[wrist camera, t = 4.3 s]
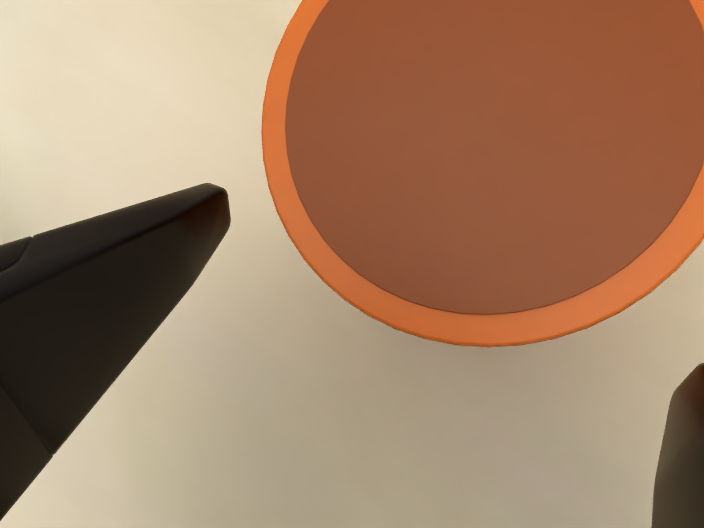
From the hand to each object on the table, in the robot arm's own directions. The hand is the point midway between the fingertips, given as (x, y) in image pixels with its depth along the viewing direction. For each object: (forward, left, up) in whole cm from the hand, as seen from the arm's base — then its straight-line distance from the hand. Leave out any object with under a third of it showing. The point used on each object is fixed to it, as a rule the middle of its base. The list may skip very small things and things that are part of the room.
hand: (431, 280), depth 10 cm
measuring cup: (+3, -5, -9) cm, 11 cm away
